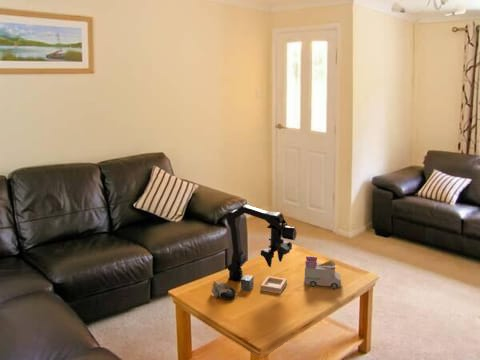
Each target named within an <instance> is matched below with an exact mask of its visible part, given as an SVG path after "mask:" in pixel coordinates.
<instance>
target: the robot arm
mask: <svg viewBox="0 0 480 360" xmlns="http://www.w3.org/2000/svg"><path fill="white" fill-rule="evenodd" d="M244 214H245V215H249V216H252V217H255V218H257V219H261V220H263V221H265V222H266V223H268V224H269V225H267V226H266V228H267V229H270V237H269V238H268V241H269V242H270V244H269V245H268V248H269V249H268V248H264V249H262V250H260V256H261V257H264V259H265V262H266V263H267V266H268V267H269V268H271V267H272V261H273V258H274V257H275V252H277V257H278V262H282V260H283V258H284V255H287V254H289V253H290V251H291V250H292V249H293V243H292V242H291V241H295V240H296V238H297V229H296V226H288V223H287V221H286V220H285V218H284V215H283V213H282V212H279V211H267V210H264V209H261V208H257V207H254V206H251V205H249V204H243V205H241V206H240V207H239V208H238V209H236V208H234V209H231V210H230V211H229V212H227V213H226V215H225V219H226V223H227V225H228V226H229V228H230V236H231V244H232V245H231V246H232V254H231V259H230V261H231V262H230V264H229V265H228V266H227V271H229V273H228V276H229V277H228V278H227V280H228V281H233V282H241V278H242V277H243V276H244V275H243V270H242V269H243V268H242V267H243V265H245V263H246V261H247V253H246V252H243V250H242V249H243V248H242V243H241V234H240V222H241V217H242V215H244ZM284 240H290V241H288V242H287V241H284Z"/></svg>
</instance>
